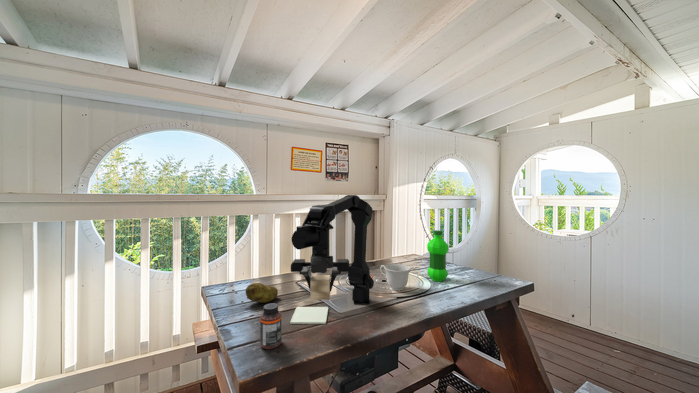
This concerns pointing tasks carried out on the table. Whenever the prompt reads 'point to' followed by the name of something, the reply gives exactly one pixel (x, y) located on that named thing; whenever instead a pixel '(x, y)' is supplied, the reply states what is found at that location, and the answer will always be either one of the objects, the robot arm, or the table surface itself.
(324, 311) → the mat
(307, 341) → the table surface
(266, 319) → the supplement bottle
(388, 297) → the table surface
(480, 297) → the table surface
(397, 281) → the teacup
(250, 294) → the potato
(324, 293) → the cube
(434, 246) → the plastic bottle
